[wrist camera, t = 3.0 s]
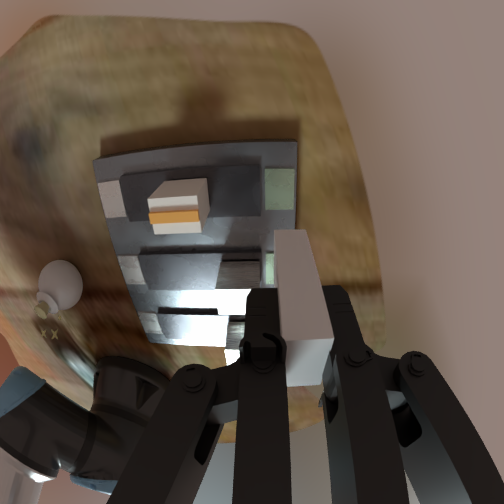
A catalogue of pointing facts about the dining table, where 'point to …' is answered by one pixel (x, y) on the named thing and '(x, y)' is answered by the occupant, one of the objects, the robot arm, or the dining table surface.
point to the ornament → (58, 289)
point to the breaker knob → (179, 206)
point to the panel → (200, 234)
